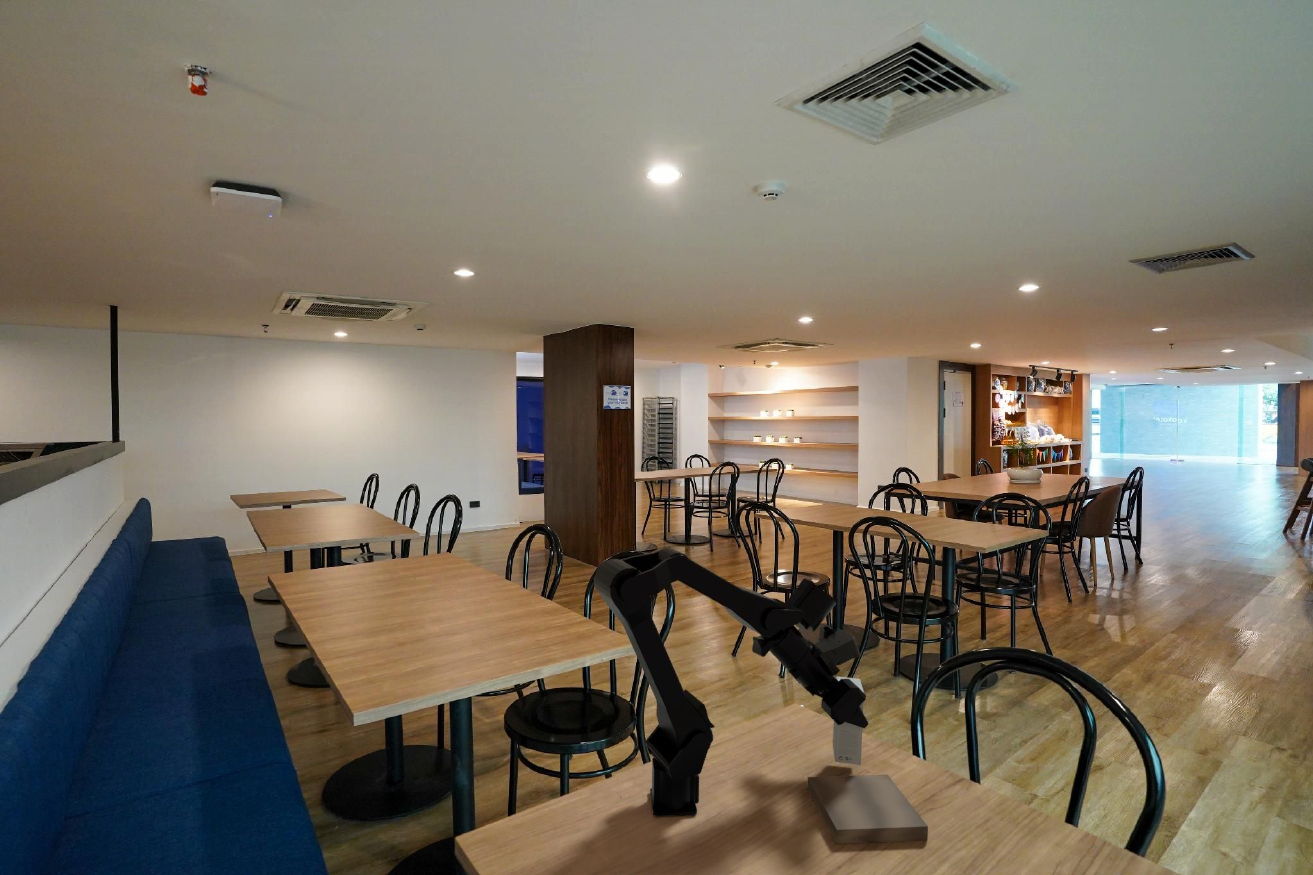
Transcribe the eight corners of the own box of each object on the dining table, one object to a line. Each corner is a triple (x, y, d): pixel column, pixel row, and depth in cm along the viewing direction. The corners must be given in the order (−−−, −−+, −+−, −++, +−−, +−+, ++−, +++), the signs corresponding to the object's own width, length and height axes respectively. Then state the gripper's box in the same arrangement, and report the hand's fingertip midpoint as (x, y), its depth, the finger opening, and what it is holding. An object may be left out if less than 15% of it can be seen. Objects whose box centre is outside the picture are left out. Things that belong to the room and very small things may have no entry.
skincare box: (861, 766, 107) (864, 693, 106) (834, 762, 108) (837, 690, 107) (858, 747, 113) (860, 678, 112) (832, 744, 114) (834, 675, 113)
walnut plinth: (836, 843, 91) (837, 829, 91) (807, 789, 104) (807, 776, 104) (927, 840, 92) (928, 826, 92) (887, 786, 105) (887, 774, 105)
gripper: (856, 636, 99) (920, 705, 102) (807, 600, 118) (862, 659, 120) (804, 690, 98) (870, 758, 101) (763, 645, 117) (819, 704, 119)
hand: (855, 715), depth 110 cm, fingers closed on skincare box, 7 cm apart
